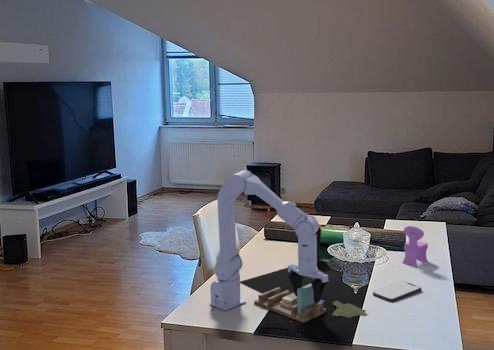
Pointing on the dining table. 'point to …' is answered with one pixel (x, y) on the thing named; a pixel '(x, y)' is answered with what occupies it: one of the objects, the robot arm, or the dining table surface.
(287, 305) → the offcut low
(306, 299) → the board
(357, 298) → the dining table surface
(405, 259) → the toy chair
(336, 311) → the olive flat irregular piece
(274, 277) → the tablet
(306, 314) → the rack
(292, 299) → the offcut top
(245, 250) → the dining table surface
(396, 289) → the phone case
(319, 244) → the cup
